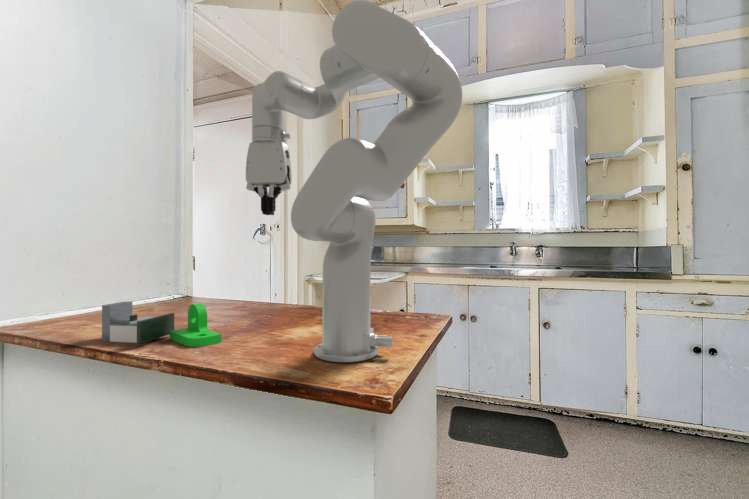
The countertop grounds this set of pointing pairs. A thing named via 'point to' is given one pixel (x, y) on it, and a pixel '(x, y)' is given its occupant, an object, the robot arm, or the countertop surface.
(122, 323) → the gauge housing
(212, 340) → the mechanical part
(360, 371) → the countertop surface
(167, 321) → the dark green piece
